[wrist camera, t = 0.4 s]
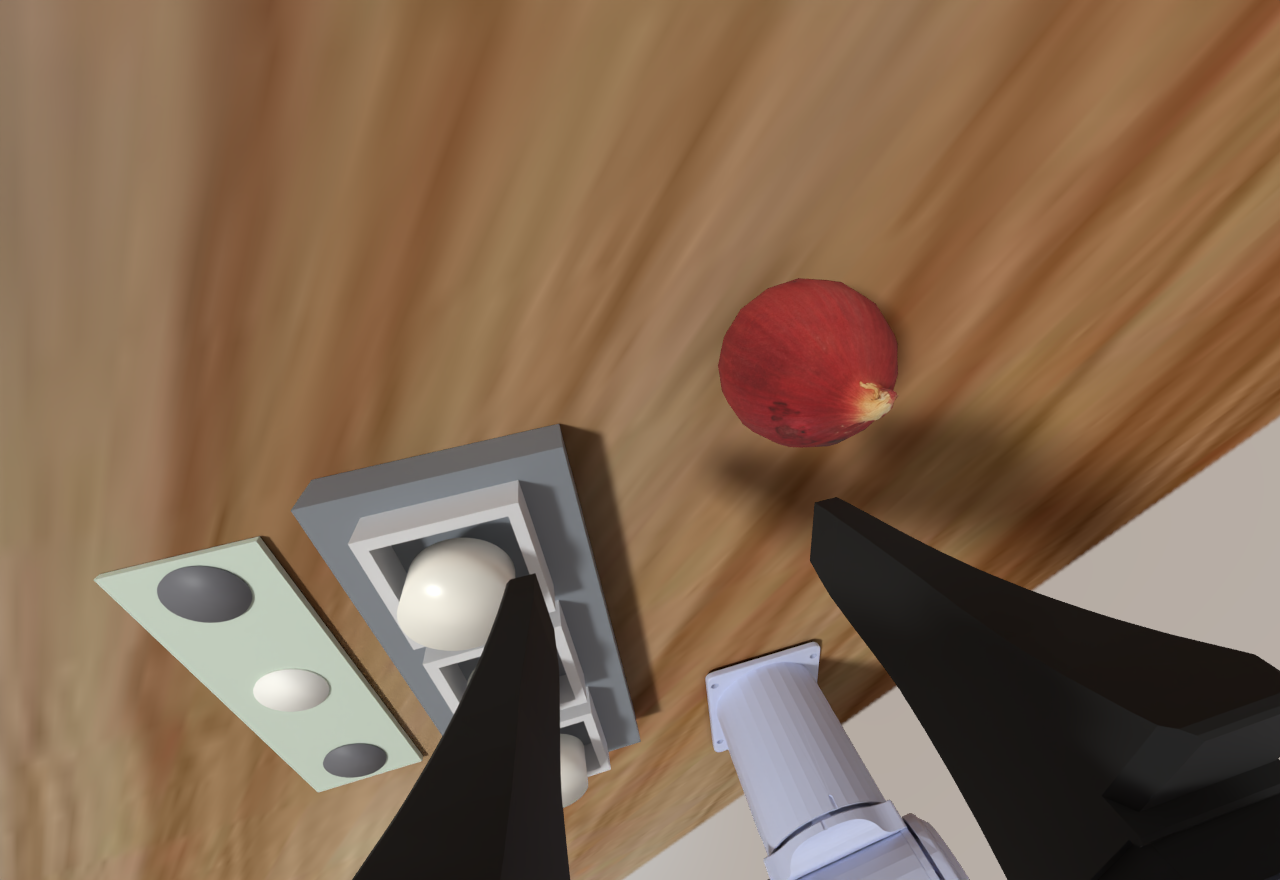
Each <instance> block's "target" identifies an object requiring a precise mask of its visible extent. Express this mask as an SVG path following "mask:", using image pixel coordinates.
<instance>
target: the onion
mask: <svg viewBox="0 0 1280 880" xmlns="http://www.w3.org/2000/svg"><path fill="white" fill-rule="evenodd" d="M718 368H719V374H720V381H721V387H722V392H723V394H724V396H725V398H726V400H727V402H728V403H729V405H730V406H731V408H732V409H733V410H734V412H735V413H736V415H737V416H738V418H739V419H740V420H741V422H742V423H743V424H744V425H745V426H746V427H748V428H749V429H750V430H752V431H753V432H755V433H757V434H759V435H761V436H763V437H765V438H767V439H769V440H771V441H773V442H776V443H778V444H781V445H785V446H788V447H819V446H830V445H834V444H837V443H839V442H841V441H843V440H845V439H847V438H849V437H851V436H853V435H855V434H857V433H859V432H861V431H863V430H865V429H866V428H867V427H868V426H869V425H870V424H871V423H872V422H873V421H875V420H878V419H880V418H881V417H883V416H884V415H885V414H886V413H887V412H888V411H889V410H890V409H891V408H892V407H893V403H894V401H895V399H896V398H897V397H898V395H897V394H896V392H894V391H893V389H894V386H895V382H896V378H897V375H898V365H897V341H896V338H895V335H894V333H893V332H892V330H891V328H890V327H889V325H888V323H887V322H886V320H885V318H884V317H883V315H882V313H881V312H880V310H879V308H878V307H877V305H876V304H875V303H874V302H872V301H871V300H869V299H868V298H866V297H865V296H863V295H861V294H860V293H858V292H857V291H855V290H853V289H852V288H850V287H848V286H847V285H845V284H843V283H842V282H836V281H829V280H815V279H799V278H798V279H795V280H792V281H789V282H786V283H783V284H780V285H777V286H774V287H771V288H768V289H766V290H765V291H764V292H763V293H761V294H760V295H759V296H757V297H756V298H755V299H753V300H752V301H751V302H750V303H748V304H747V305H746V306H744V307H743V308H742V309H741V310H740V311H739V313H738V315H737V316H736V318H735V320H734V321H733V323H732V325H731V326H730V328H729V329H728V331H727V332H726V334H725V336H724V340H723V344H722V349H721V354H720V359H719V364H718Z"/></svg>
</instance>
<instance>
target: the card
mask: <svg viewBox="0 0 1280 880" xmlns="http://www.w3.org/2000/svg"><path fill="white" fill-rule="evenodd" d="M94 581H95V582H96V583H97V584H98V585H99V586H101V587H102V588H103V589H104V590H105V591H106V592H107V593H108V594H109V595H110V596H111V597H112V598H113V599H114V600H115V601H116V602H117V603H118V604H120V605H121V606H122V607H123V608H124V609H125V610H126V611H127V612H128V613H129V614H130V615H131V616H132V617H133V618H134V619H135V620H136V621H137V622H139V623H140V624H141V625H142V626H143V627H144V628H145V629H146V630H147V631H148V632H149V633H150V634H151V635H152V636H153V637H154V638H155V639H156V640H158V641H159V642H160V643H161V644H162V645H163V646H164V647H165V648H166V649H167V650H168V651H169V652H170V653H171V654H172V655H173V656H174V657H175V658H177V659H178V660H179V661H180V662H181V663H182V664H183V665H184V666H185V667H186V668H187V669H188V670H189V671H190V672H191V673H192V674H193V675H194V676H196V677H197V678H198V679H199V680H200V681H201V682H202V683H203V684H204V685H205V686H206V687H207V688H208V689H209V690H210V691H211V692H212V693H213V694H215V695H216V696H217V697H218V698H219V699H220V700H221V701H222V702H223V703H224V704H225V705H226V706H227V707H228V708H229V709H230V710H231V711H232V712H234V713H235V714H236V715H237V716H238V717H239V718H240V719H241V720H242V721H243V722H244V723H245V724H246V725H247V726H248V727H249V728H250V729H251V730H253V731H254V732H255V733H256V734H257V735H258V736H259V737H260V738H261V739H262V740H263V741H264V742H265V743H266V744H267V745H268V746H269V747H270V748H272V749H273V750H274V751H275V752H276V753H277V754H278V755H279V756H280V757H281V758H282V759H283V760H284V761H285V762H286V763H287V764H288V765H290V766H291V767H292V768H293V769H294V770H295V771H296V772H297V773H298V774H299V775H300V776H301V777H302V778H303V779H304V780H305V781H306V782H307V783H309V784H310V785H311V786H312V787H313V788H314V789H315V790H316V791H317V792H321V791H325V790H328V789H331V788H335V787H338V786H341V785H344V784H348V783H351V782H354V781H358V780H361V779H364V778H368V777H371V776H374V775H377V774H381V773H384V772H387V771H391V770H394V769H397V768H401V767H404V766H407V765H410V764H414V763H417V762H420V761H422V758H423V755H422V754H421V752H420V751H419V750H418V748H417V747H416V746H415V744H414V743H413V742H412V740H411V739H410V738H409V736H408V735H407V734H406V732H405V731H404V730H403V728H402V727H401V726H400V724H399V723H398V722H397V720H396V719H395V718H394V716H393V715H392V714H391V712H390V711H389V710H388V708H387V707H386V705H385V704H384V703H383V701H382V700H381V699H380V697H379V696H378V695H377V693H376V692H375V691H374V689H373V688H372V687H371V685H370V684H369V683H368V681H367V680H366V679H365V677H364V676H363V675H362V673H361V672H360V671H359V669H358V668H357V667H356V665H355V664H354V663H353V661H352V660H351V658H350V657H349V656H348V654H347V653H346V652H345V650H344V649H343V648H342V646H341V645H340V644H339V642H338V641H337V640H336V638H335V637H334V636H333V634H332V633H331V632H330V630H329V629H328V628H327V626H326V625H325V624H324V622H323V621H322V620H321V618H320V617H319V615H318V614H317V613H316V611H315V610H314V609H313V607H312V606H311V605H310V603H309V602H308V601H307V599H306V598H305V597H304V595H303V594H302V593H301V591H300V590H299V589H298V587H297V586H296V585H295V583H294V582H293V581H292V579H291V578H290V577H289V575H288V574H287V573H286V571H285V570H284V568H283V567H282V566H281V564H280V563H279V562H278V560H277V559H276V558H275V556H274V555H273V554H272V552H271V551H270V550H269V548H268V547H267V546H266V544H265V543H264V542H263V540H262V539H261V538H260V536H259V537H255V538H250V539H246V540H242V541H238V542H233V543H229V544H225V545H221V546H217V547H212V548H208V549H204V550H200V551H196V552H191V553H187V554H183V555H179V556H175V557H170V558H166V559H162V560H158V561H154V562H149V563H145V564H141V565H137V566H133V567H128V568H124V569H120V570H116V571H112V572H107V573H103V574H99V575H98V576H97V577H96V578H95V579H94Z"/></svg>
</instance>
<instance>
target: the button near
mask: <svg viewBox="0 0 1280 880" xmlns="http://www.w3.org/2000/svg"><path fill="white" fill-rule="evenodd" d="M514 578H515V567H514V564H513V562H512V560H511V558H510V557H509V556H508V555H507V553H506V552H505V551H503V550H502V549H501V548H499V547H498V546H496V545H494V544H492V543H490V542H487V541H484V540H480V539H475V538H452V539H447V540H443V541H440V542H437V543H435V544H432V545H430V546H429V547H427V548H425V549H424V550H423V551H421V552H420V553H419V554H418V555H417V556H416V557H415V558H414V560H413V561H412V563H411V565H410V567H409V570H408V573H407V577H406V580H405V584H404V587H403V591H402V594H401V598H400V601H399V605H398V609H397V619H398V623H399V625H400V627H401V629H402V630H403V632H404V633H405V634H406V635H407V636H408V637H409V638H410V639H412V640H413V641H415V642H417V643H418V644H421V645H423V646H425V647H429V648H432V649H437V650H444V651H460V650H467V649H472V648H476V647H479V646H482V645H484V644H486V642H487V639H488V637H489V634H490V632H491V629H492V626H493V623H494V621H495V618H496V615H497V612H498V609H499V606H500V603H501V600H502V597H503V594H504V591H505V587H506V584H507V583H508V581H509V580H510V579H514Z"/></svg>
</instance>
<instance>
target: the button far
mask: <svg viewBox="0 0 1280 880" xmlns="http://www.w3.org/2000/svg"><path fill="white" fill-rule="evenodd" d="M560 762H561V790H562V804H563V808H564V807H566V806H569V805H571V804H572V803H574V802H576V801H577V800H578V799H579V798H581V797H582V796H583V795H584V793H585V792H586V790H587V788H588V778H587V769H586V760H585V751H584V745H583V743H582V741H581V740H580V739H578V738H577V737H575V736H572V735H568V734H560Z"/></svg>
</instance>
